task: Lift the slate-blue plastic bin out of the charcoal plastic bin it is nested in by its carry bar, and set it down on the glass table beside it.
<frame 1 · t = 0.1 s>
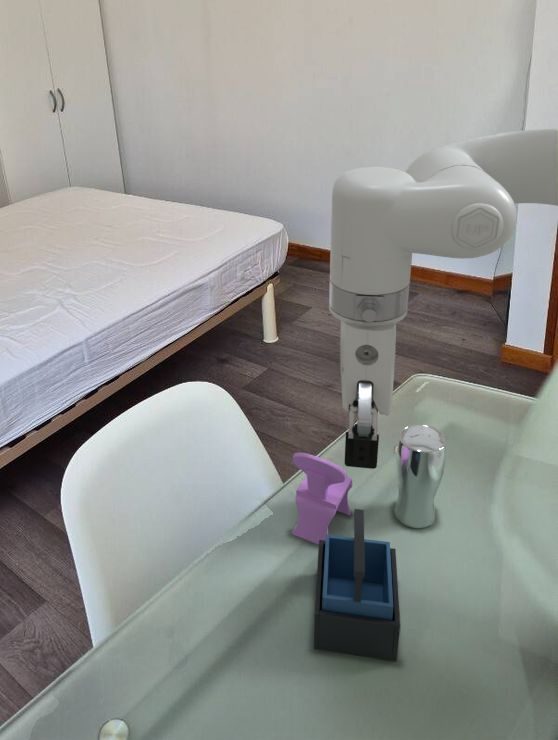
hand: (360, 436, 75), 33 cm above the table, tool pointing down, fingers open, 9 cm apart
beer glass: (414, 515, 108), on the table
blue bin: (354, 611, 92), point 1 cm above the table, touching charcoal bin
toy chair: (322, 523, 107), on the table
charcoal bin: (354, 614, 92), on the table
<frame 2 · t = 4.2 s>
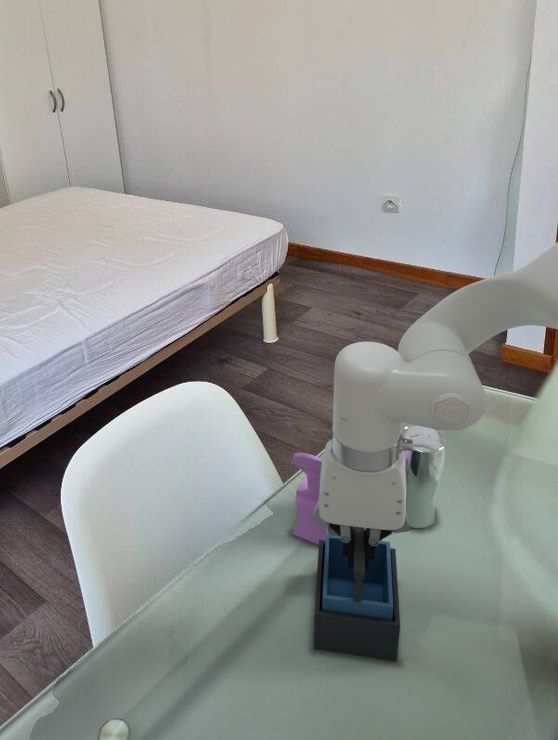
hand: (358, 558, 88), 10 cm above the table, tool pointing down, fingers closed on blue bin
blue bin: (354, 611, 92), point 1 cm above the table, touching charcoal bin, gripper
everything else where it was.
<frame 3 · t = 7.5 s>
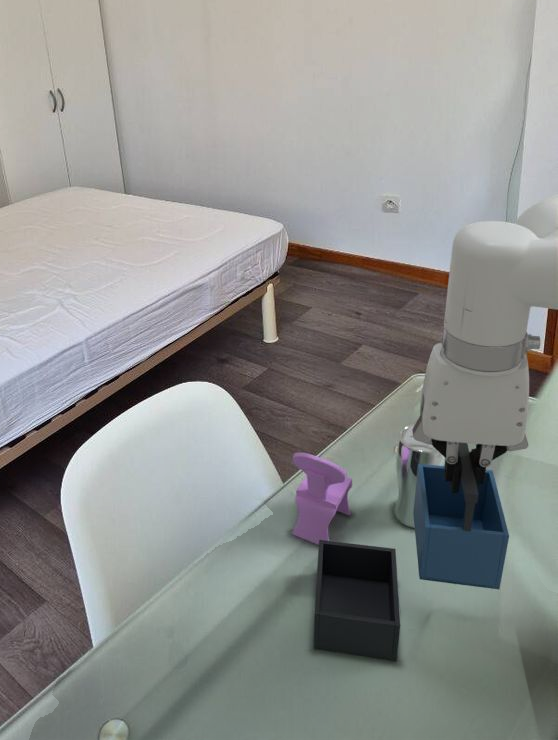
hand: (462, 484, 77), 26 cm above the table, tool pointing down, fingers closed on blue bin
blue bin: (453, 548, 81), point 16 cm above the table, touching gripper
everything else where it was.
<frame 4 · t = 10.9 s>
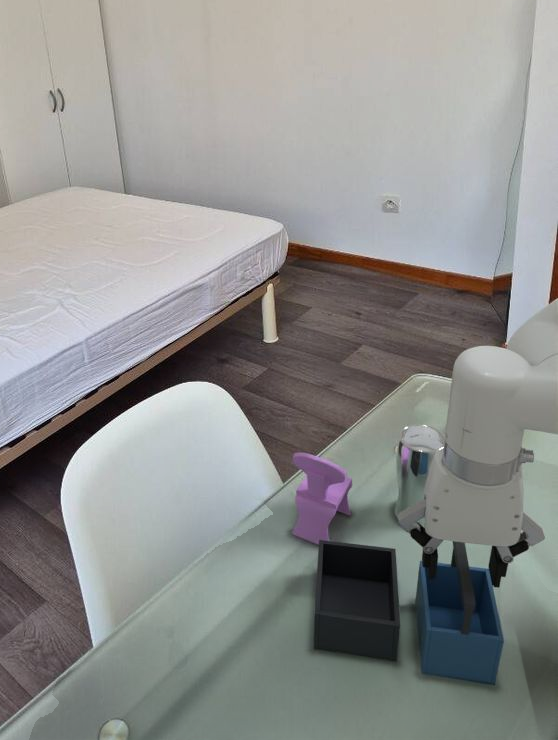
hand: (461, 572, 82), 12 cm above the table, tool pointing down, fingers open, 6 cm apart
blue bin: (452, 641, 88), on the table
everything else where it was.
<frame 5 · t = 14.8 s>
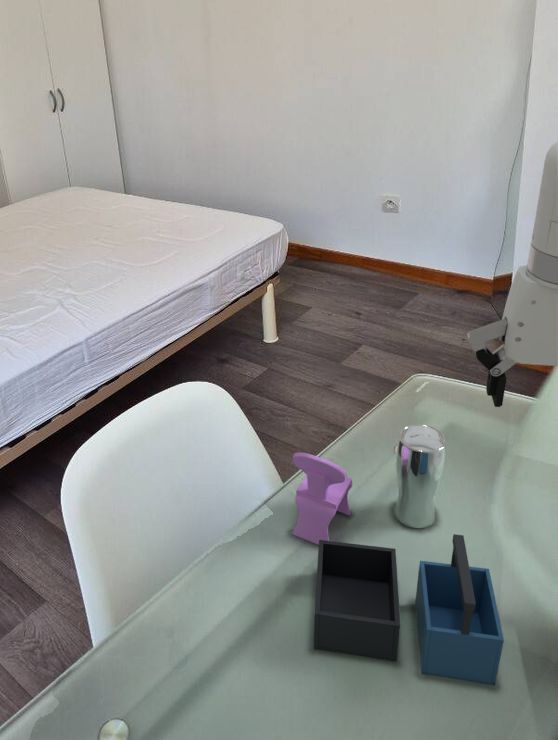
hand: (542, 403, 77), 33 cm above the table, tool pointing down, fingers open, 9 cm apart
nothing on the table moved.
at the end: blue bin inside the target area (0.1 cm from its centre), on the table; blue bin tilted 0°; blue bin touching table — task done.
